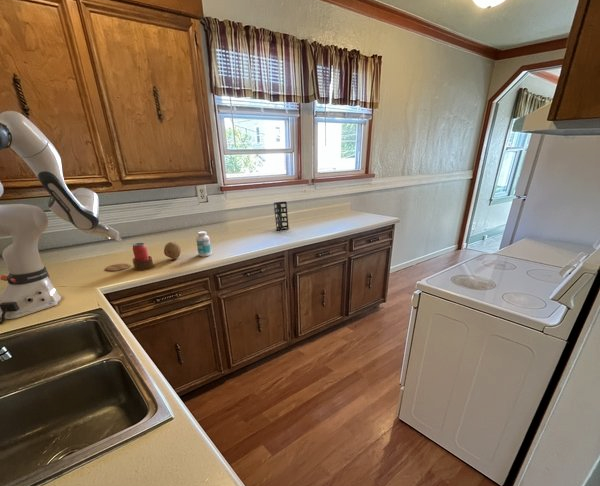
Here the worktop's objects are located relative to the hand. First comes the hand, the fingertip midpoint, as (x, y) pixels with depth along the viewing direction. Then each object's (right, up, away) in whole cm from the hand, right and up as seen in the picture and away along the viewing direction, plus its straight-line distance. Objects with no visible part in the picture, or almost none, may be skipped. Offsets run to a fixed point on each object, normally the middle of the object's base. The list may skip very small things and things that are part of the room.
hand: (114, 239), depth 157 cm
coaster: (-9, -11, +18) cm, 22 cm away
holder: (+75, +32, +96) cm, 126 cm away
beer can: (+6, -10, +18) cm, 21 cm away
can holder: (+6, -11, +18) cm, 22 cm away
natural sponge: (+17, -4, +30) cm, 35 cm away
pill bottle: (+33, 0, +37) cm, 50 cm away
